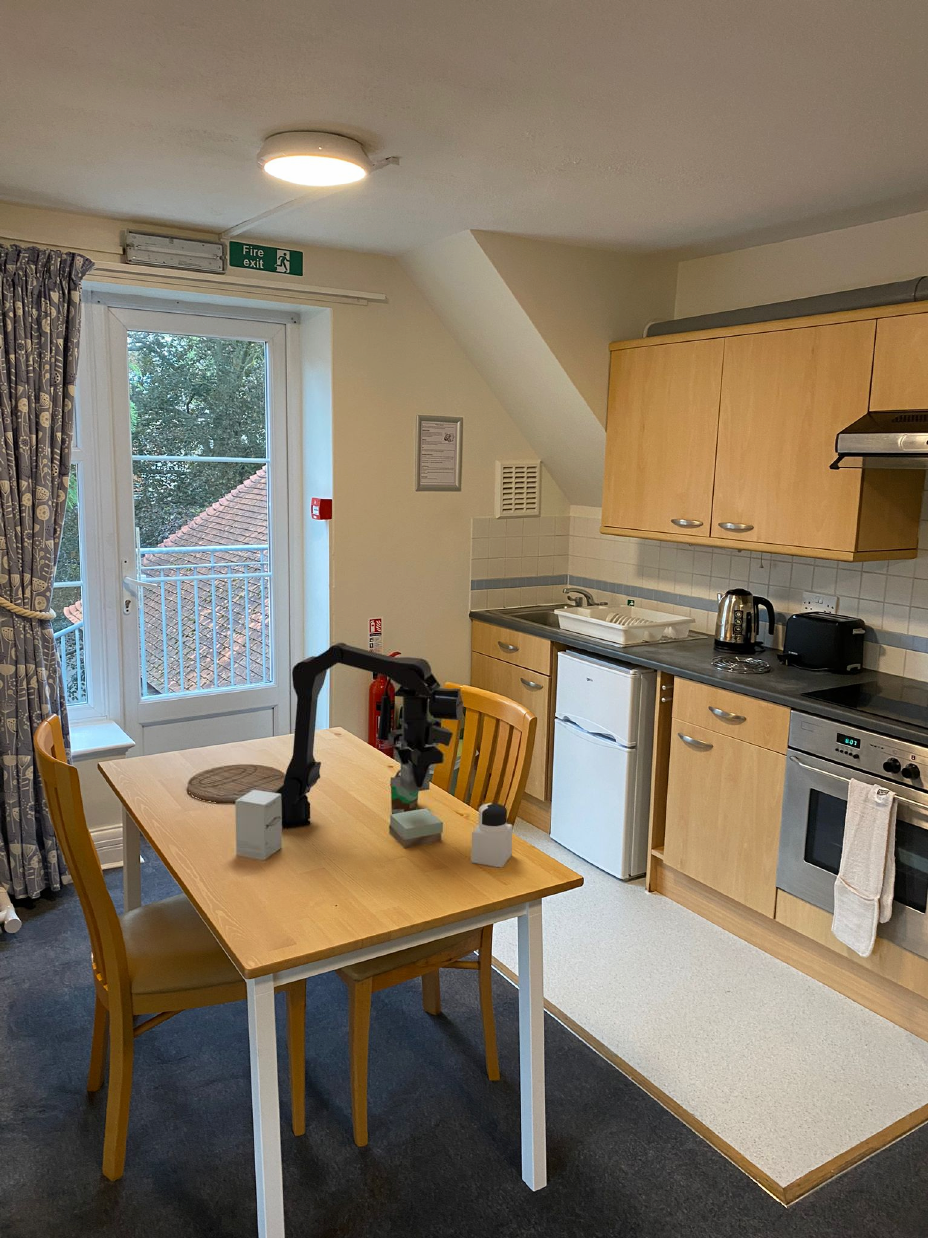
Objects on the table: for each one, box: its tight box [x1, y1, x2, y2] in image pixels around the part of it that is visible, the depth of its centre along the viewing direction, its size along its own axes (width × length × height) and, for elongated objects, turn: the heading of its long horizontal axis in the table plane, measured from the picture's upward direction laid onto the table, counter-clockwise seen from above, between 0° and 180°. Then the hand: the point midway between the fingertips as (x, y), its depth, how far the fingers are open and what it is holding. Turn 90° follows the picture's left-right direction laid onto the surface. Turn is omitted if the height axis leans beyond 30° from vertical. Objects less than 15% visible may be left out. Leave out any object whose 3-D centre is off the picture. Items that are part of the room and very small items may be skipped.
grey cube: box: [400, 763, 431, 793], centre depth 210 cm, size 5×5×5 cm
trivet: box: [187, 763, 286, 804], centre depth 242 cm, size 25×25×2 cm
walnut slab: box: [388, 824, 442, 849], centre depth 212 cm, size 9×9×2 cm
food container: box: [389, 769, 420, 814], centre depth 228 cm, size 12×6×10 cm, turn 168°
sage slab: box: [389, 808, 444, 839], centre depth 212 cm, size 9×9×2 cm
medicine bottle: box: [470, 802, 513, 869], centre depth 201 cm, size 7×7×12 cm
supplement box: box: [234, 790, 283, 861], centre depth 202 cm, size 7×7×13 cm
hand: (414, 783), depth 210 cm, fingers closed on grey cube, 5 cm apart
